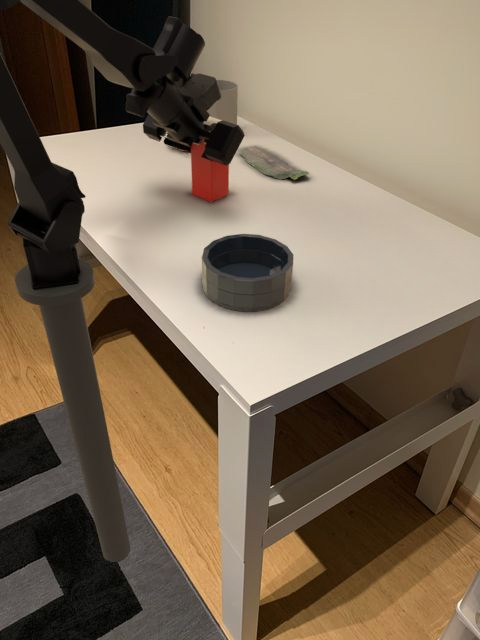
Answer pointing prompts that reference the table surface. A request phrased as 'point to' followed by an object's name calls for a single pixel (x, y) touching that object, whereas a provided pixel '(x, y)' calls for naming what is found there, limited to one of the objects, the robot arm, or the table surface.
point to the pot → (247, 272)
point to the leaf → (270, 164)
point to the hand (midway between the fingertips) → (215, 157)
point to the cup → (226, 102)
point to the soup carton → (208, 173)
